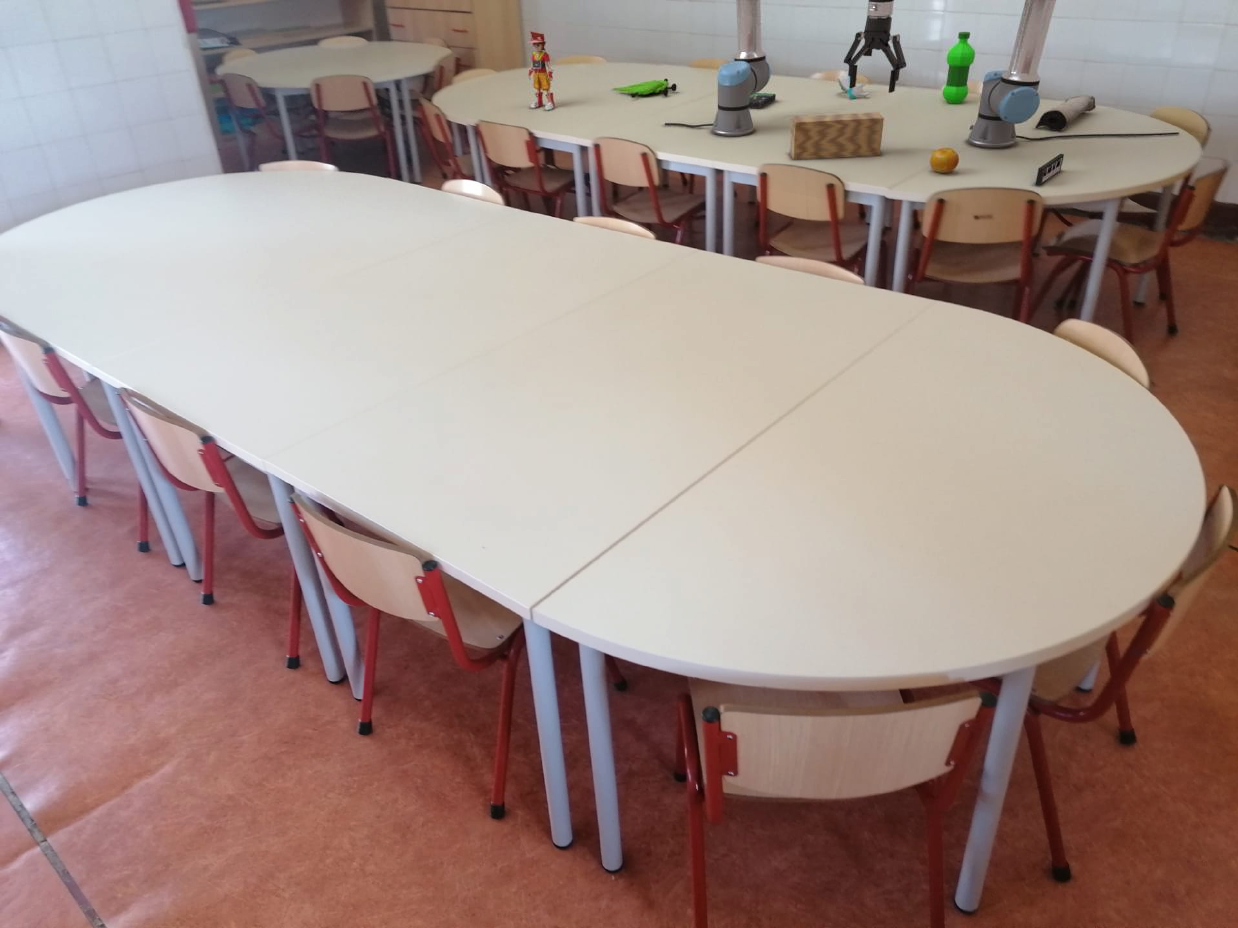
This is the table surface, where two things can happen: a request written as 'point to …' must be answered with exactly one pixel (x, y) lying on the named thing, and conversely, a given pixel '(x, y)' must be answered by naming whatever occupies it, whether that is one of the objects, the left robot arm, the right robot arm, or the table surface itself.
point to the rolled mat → (1066, 112)
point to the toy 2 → (648, 88)
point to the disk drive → (760, 99)
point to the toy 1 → (541, 71)
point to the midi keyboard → (1049, 169)
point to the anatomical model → (845, 84)
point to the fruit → (944, 160)
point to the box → (836, 135)
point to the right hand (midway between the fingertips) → (871, 89)
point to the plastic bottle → (958, 69)
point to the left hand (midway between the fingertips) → (872, 52)
